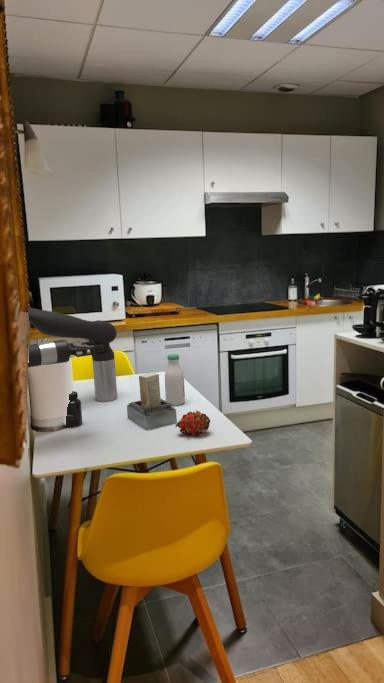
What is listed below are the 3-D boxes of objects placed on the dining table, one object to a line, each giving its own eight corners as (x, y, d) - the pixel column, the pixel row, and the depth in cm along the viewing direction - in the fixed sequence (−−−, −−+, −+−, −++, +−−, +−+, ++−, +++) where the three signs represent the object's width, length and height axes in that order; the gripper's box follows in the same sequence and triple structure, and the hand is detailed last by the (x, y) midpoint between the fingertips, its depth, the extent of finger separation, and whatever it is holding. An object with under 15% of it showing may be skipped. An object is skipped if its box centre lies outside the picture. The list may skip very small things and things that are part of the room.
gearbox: (127, 417, 187) (126, 401, 186) (156, 411, 193) (155, 395, 192) (146, 430, 173) (145, 412, 172) (176, 422, 179) (175, 405, 178)
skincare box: (154, 403, 186) (152, 371, 183) (161, 406, 182) (159, 373, 180) (140, 407, 181) (138, 375, 179) (147, 410, 178) (145, 377, 176)
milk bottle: (182, 406, 197) (180, 357, 194) (163, 405, 199) (161, 357, 195) (186, 400, 205) (184, 352, 201) (168, 399, 206) (166, 352, 203)
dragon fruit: (214, 437, 168) (179, 445, 168) (208, 417, 174) (174, 424, 173) (212, 423, 162) (176, 431, 161) (207, 402, 168) (172, 410, 167)
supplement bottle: (66, 429, 178) (63, 396, 175) (61, 423, 184) (58, 392, 181) (84, 425, 181) (82, 393, 178) (79, 420, 187) (77, 389, 184)
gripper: (58, 344, 155) (106, 337, 164) (45, 338, 167) (91, 332, 176) (60, 368, 157) (108, 360, 165) (47, 360, 169) (92, 353, 177)
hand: (99, 345), depth 170 cm, fingers open, 8 cm apart
